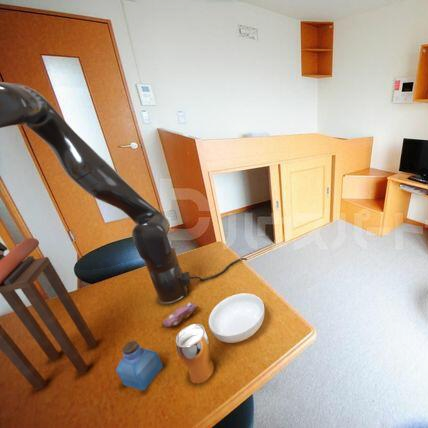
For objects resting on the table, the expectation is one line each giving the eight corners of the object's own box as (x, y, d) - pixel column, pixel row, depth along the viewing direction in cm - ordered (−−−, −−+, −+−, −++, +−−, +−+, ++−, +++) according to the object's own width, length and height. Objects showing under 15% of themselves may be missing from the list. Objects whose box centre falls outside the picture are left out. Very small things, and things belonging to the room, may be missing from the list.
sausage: (28, 247, 63) (22, 237, 62) (43, 244, 64) (38, 234, 63) (-29, 300, 46) (-39, 289, 45) (-7, 295, 47) (-15, 284, 46)
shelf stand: (97, 342, 73) (45, 253, 59) (86, 372, 65) (24, 277, 51) (53, 356, 69) (-14, 264, 54) (35, 390, 61) (-48, 292, 47)
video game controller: (169, 334, 77) (170, 325, 73) (161, 324, 78) (161, 314, 74) (197, 313, 85) (199, 304, 81) (189, 304, 86) (191, 295, 82)
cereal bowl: (244, 300, 89) (242, 285, 86) (276, 322, 81) (275, 307, 78) (201, 332, 77) (197, 316, 74) (234, 362, 68) (230, 346, 65)
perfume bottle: (144, 390, 61) (128, 360, 56) (124, 385, 62) (107, 355, 57) (163, 366, 67) (150, 337, 61) (144, 362, 68) (130, 333, 63)
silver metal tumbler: (221, 368, 66) (211, 331, 60) (197, 391, 61) (184, 353, 55) (205, 355, 70) (195, 318, 63) (182, 375, 64) (168, 338, 58)
